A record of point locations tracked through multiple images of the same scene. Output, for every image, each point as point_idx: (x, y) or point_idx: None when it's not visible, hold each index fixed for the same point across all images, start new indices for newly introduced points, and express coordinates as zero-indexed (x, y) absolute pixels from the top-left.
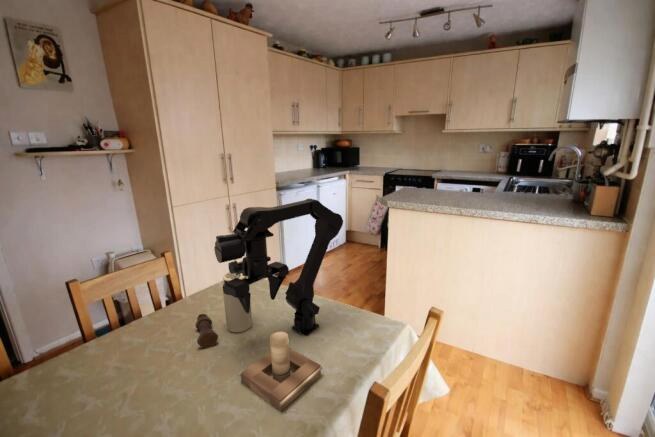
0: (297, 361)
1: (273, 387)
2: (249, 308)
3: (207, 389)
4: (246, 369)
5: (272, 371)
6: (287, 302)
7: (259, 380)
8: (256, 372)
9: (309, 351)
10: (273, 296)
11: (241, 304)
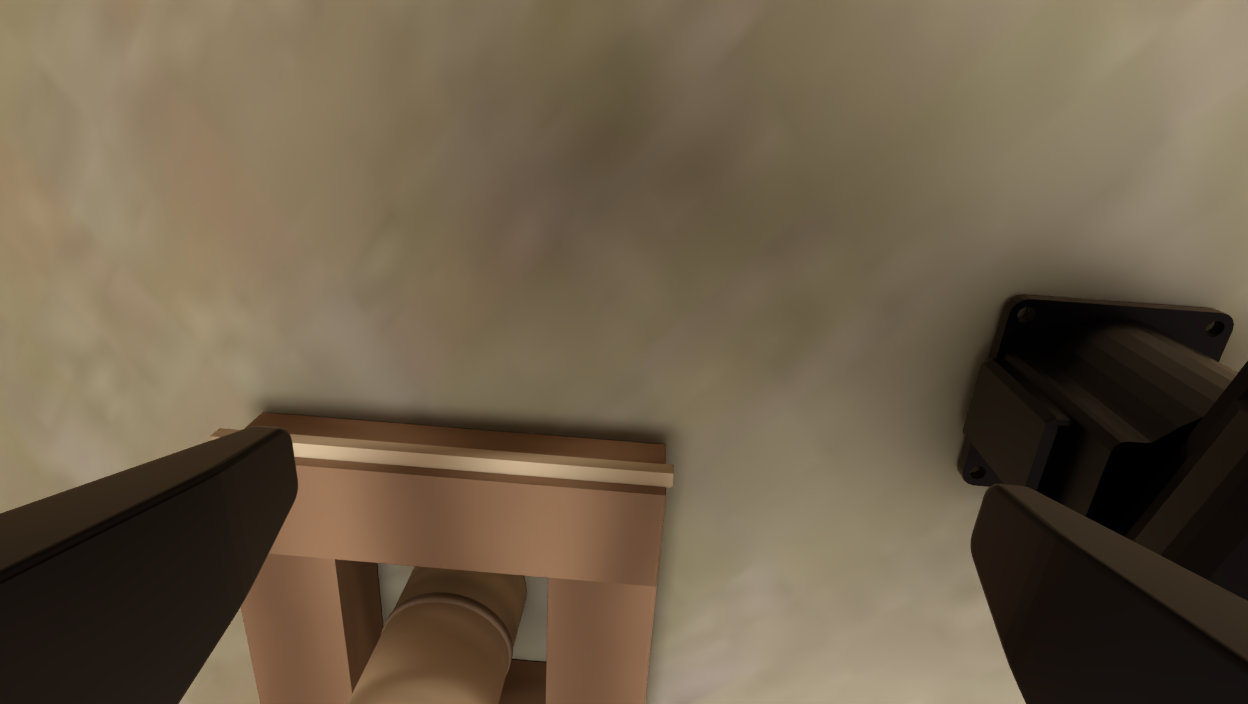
0: (570, 691)
1: (304, 698)
2: (221, 621)
3: (48, 258)
4: None
5: (385, 623)
6: (1230, 432)
7: (273, 604)
8: (299, 546)
9: (792, 585)
10: (1003, 632)
11: (19, 514)
